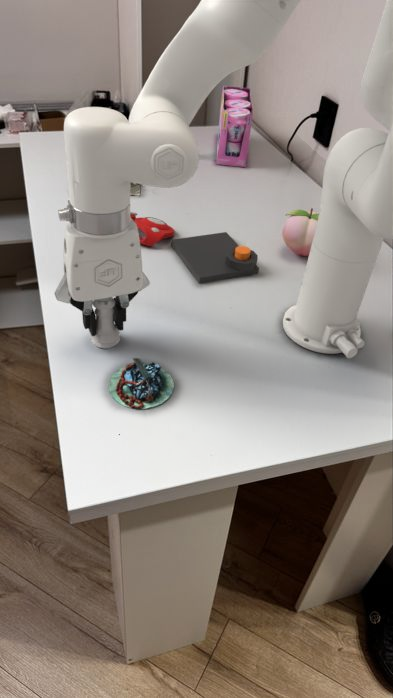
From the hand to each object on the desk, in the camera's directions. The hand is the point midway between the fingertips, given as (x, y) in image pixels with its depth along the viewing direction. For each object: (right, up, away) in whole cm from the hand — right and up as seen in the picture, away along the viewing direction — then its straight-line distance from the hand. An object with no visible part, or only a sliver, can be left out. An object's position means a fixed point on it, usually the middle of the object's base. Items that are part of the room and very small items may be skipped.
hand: (104, 326), depth 79 cm
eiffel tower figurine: (-7, +35, +44) cm, 56 cm away
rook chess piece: (0, -2, +2) cm, 3 cm away
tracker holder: (+3, +20, +28) cm, 35 cm away
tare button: (+22, +14, +19) cm, 32 cm away
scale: (+17, +14, +22) cm, 31 cm away
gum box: (+23, +51, +67) cm, 87 cm away
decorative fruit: (+35, +15, +27) cm, 46 cm away
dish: (+6, -9, -5) cm, 12 cm away
